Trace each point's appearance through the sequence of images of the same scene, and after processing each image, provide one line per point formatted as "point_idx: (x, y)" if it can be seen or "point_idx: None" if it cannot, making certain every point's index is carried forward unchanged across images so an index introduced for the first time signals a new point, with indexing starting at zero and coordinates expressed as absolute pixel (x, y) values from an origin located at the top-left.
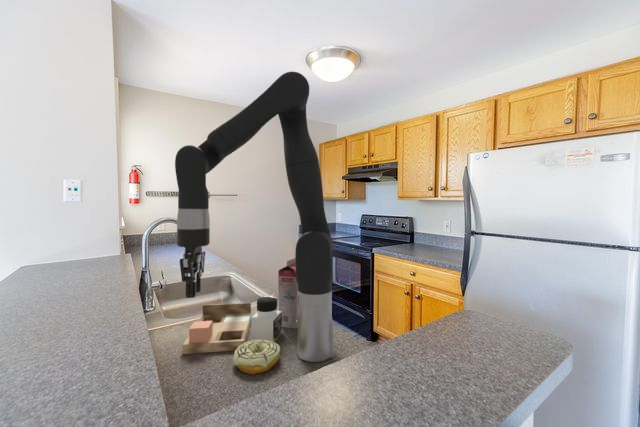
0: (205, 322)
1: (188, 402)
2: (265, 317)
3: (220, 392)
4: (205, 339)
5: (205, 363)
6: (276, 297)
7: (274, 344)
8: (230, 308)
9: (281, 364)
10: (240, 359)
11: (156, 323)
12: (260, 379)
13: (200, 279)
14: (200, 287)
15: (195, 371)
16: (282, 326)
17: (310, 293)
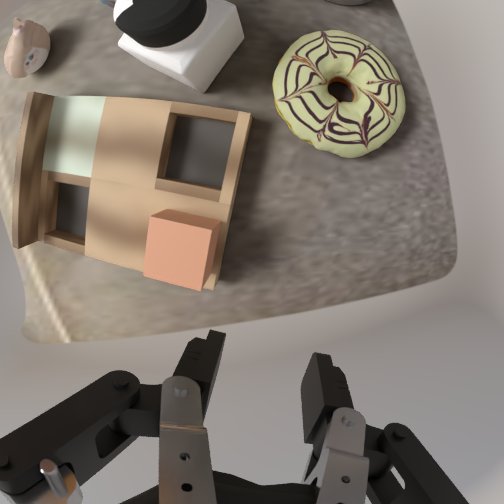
0: (161, 240)
1: (424, 257)
2: (209, 26)
3: (423, 197)
4: (217, 231)
5: (291, 223)
6: (23, 21)
7: (338, 39)
8: (31, 159)
9: None
10: (376, 141)
11: (46, 337)
12: (411, 110)
13: (206, 373)
14: (214, 341)
15: (321, 247)
16: None
17: None
